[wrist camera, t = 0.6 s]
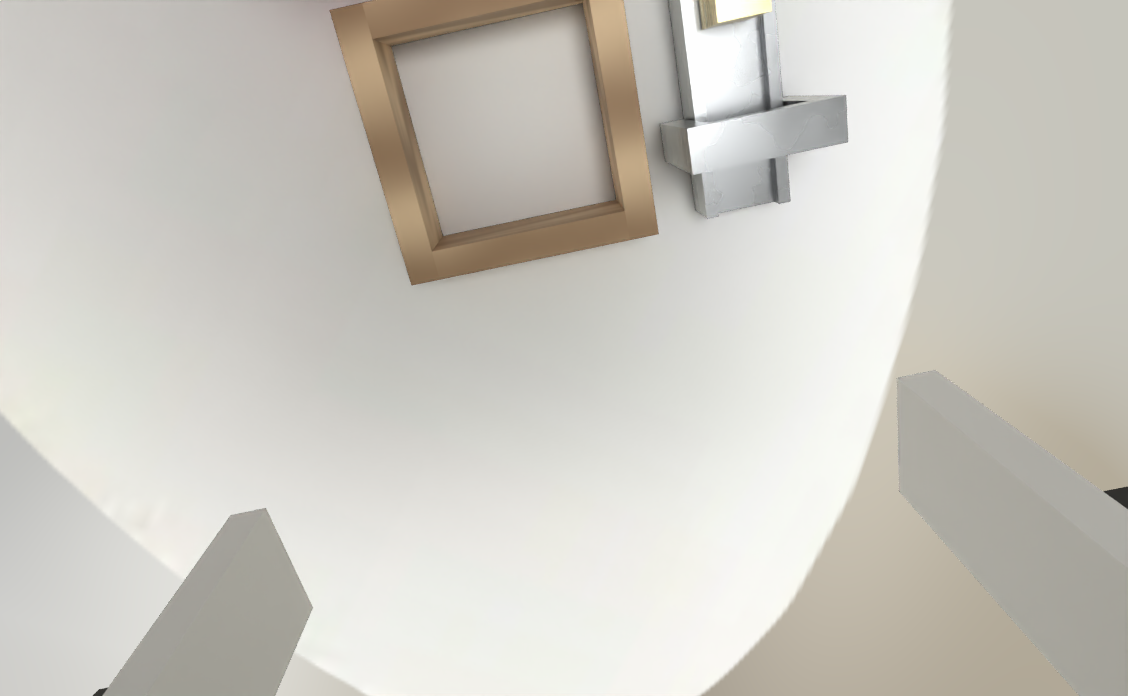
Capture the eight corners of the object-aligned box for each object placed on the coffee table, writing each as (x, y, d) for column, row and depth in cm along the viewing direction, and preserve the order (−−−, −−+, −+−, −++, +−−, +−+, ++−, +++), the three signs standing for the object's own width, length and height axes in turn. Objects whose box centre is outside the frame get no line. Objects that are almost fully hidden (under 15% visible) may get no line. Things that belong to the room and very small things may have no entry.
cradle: (353, 20, 33) (329, 10, 29) (606, -37, 32) (614, -55, 29) (424, 267, 37) (411, 285, 34) (646, 220, 37) (658, 234, 33)
